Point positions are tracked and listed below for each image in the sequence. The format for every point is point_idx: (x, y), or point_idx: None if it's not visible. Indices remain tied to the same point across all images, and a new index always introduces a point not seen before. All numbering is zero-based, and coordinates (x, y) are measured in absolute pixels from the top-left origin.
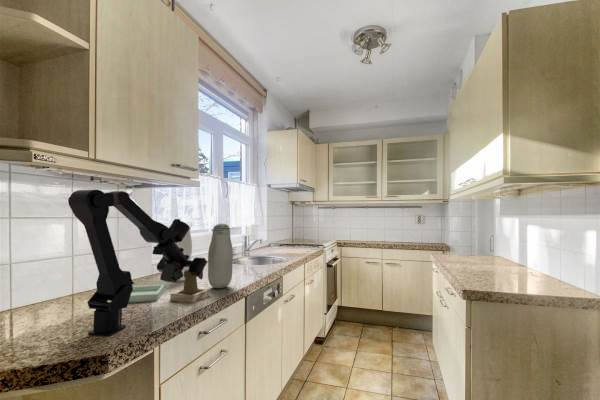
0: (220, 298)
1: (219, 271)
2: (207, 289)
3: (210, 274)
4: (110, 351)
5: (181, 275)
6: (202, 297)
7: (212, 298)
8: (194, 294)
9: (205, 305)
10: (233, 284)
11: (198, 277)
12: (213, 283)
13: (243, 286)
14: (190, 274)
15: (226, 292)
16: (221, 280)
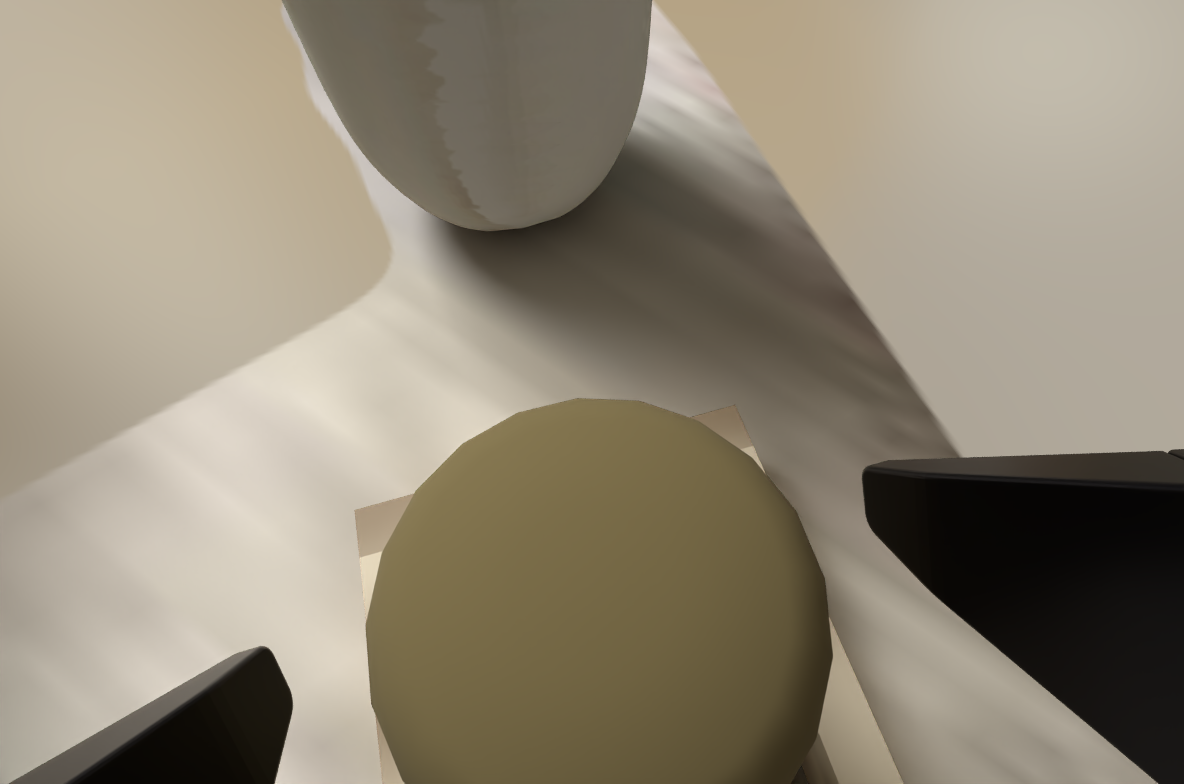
0: (927, 427)
1: (602, 22)
2: (710, 417)
3: (445, 120)
4: None
5: (260, 723)
6: None
7: (855, 486)
8: (849, 751)
9: (1140, 778)
10: None
11: (969, 622)
12: (527, 212)
13: (671, 49)
14: (796, 772)
15: (737, 245)
16: (620, 133)
